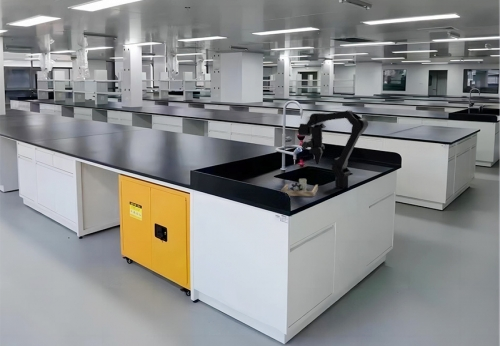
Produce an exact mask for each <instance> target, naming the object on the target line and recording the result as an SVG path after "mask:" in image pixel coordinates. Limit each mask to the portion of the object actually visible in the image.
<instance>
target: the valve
mask: <svg viewBox="0 0 500 346" xmlns="http://www.w3.org/2000/svg"><path fill="white" fill-rule="evenodd" d="M298 182H299V183H298ZM298 182H294V183H292V184H291V187H290V188H289V190H291V191H307V186H308V184H307V178H299V179H298Z"/></svg>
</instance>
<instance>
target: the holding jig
mask: <svg viewBox="0 0 500 346" xmlns="http://www.w3.org/2000/svg"><path fill="white" fill-rule="evenodd" d="M318 185H319V184H315V185H314V187H313V189H312V190H306V191H299V190H298V191H296V190H294V191H293V190H291V189H289V183H286V184H285V185H284V186H283V187H282V188H281V189H280V191H283V192H285V193H287V194H288V195H289V196H290V197H315V195H316V194H317V191H318V189H319V186H318ZM280 191H279V192H280Z"/></svg>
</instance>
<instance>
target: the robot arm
mask: <svg viewBox="0 0 500 346" xmlns="http://www.w3.org/2000/svg"><path fill="white" fill-rule="evenodd" d="M341 119H346V121H348V122H349V124H350V125H352V127H351V131H350V132H351V133H350V135H349V137H348V139H347V142H346V143H345V146H344V147H343V150H342V151H341V154H340V156H339V157H336V158H334V160H333V163H332V164H331V171H332V172H333V174H334V177H335V178H334V179H335V181H334V185H335V188H336V189H349V188H350V184H349V177H350V174H351V170H350V169H349V168H348V164H349V159H350V156H351V154H352V152H353V150H354V148H355V146H356V144H357V142H358V141H359V138H360V137H361V135H362V134H363V133H364V132H365V131H366V130H367V128H368V127H369V121H368V120H367V119H366V118H362V117H361V116H359V115H358V114H357V113H355V112H354V111H353V110H349V109H348V110H345V111H337V112H330V113H327V112H315V113H311V114H310V116H309V120H308V121H307V122H306V123H299V127H298V128H297V134H298V136H300V137H306V136H307V137H308V136H309V137H310V136H311V138H310V140H308V141H303V142H302V143H301V144H300V145H301V148H302V150H303V151H304V150H306V149H308V150H309V151H308V152H309V154H312V155H313V157H314V161H315V164H316V165H319V163H320V161H321V158H322V155H323V153H324V151H323V150H325V145H324V144H323V139H324V138H323V129H324V128H327V127H326V125H324V123H325V122H327V121H332V120H341Z"/></svg>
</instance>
